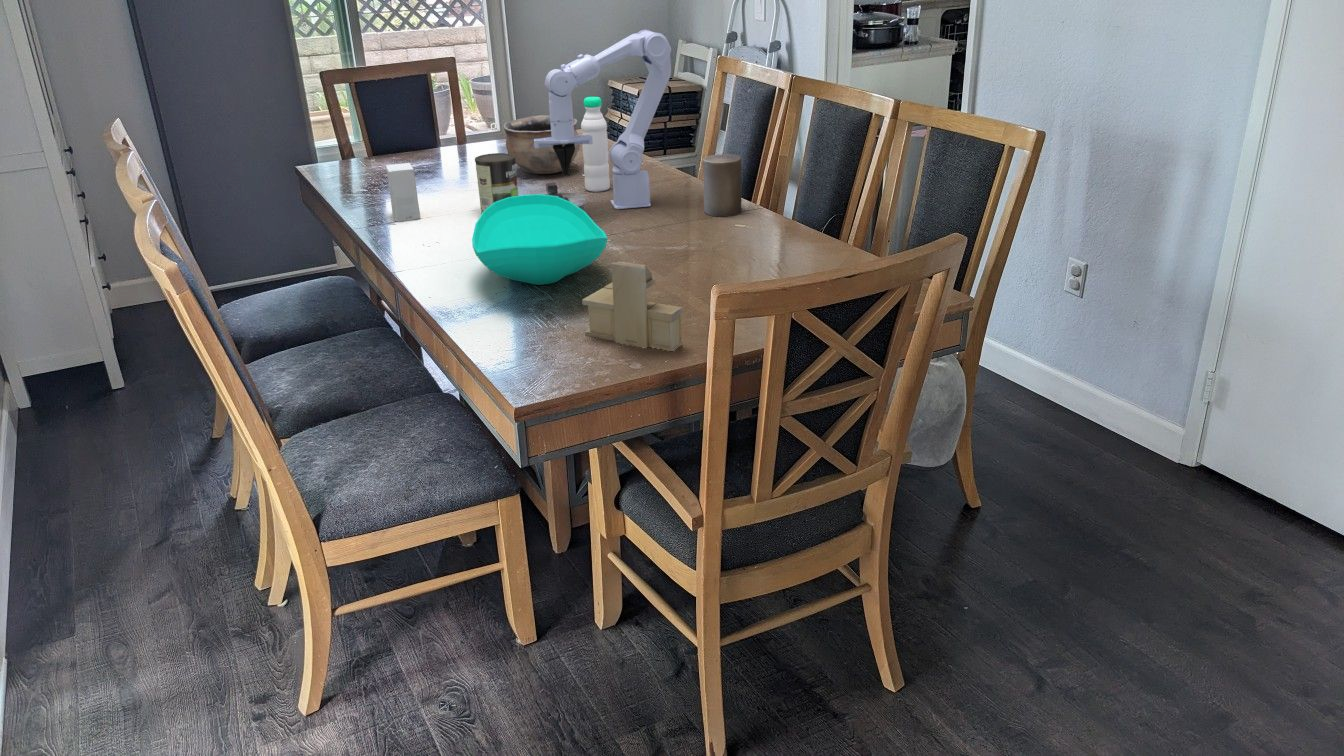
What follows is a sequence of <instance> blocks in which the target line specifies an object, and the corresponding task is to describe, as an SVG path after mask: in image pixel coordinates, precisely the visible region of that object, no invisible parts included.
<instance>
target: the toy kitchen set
mask: <svg viewBox="0 0 1344 756" xmlns="http://www.w3.org/2000/svg"><path fill="white" fill-rule="evenodd" d="M652 273H653V272H652V271H651V270H650V268H648V266H647V265H645V264H639V263H632V262H627V261H626V262H625V261H617V262H612V263H611V276H612V278H611V279H612V281H611V283H608V284H607V285H605V286H603V287H602V288H600V289H599V290H597V291H595V292H593V293H591V294H589V295H588V296H585V297H584V298H583V299H582V300H581V301H582V302H581V303H582V305H583V306H587V308H588V309H587V310H588V321H589V322H588V323H589V328H588V329H586V330H585V331H584V336H588V337H594V338H597V337H598V339H602V340H608V341H612V340H613V341H612V342H614V343H615V344H618V343H620V345H624V344H626V345H625V346H629V345H632V346H631V347H634V346H638V347H637V348H639V347H644V348H647V347H654V348H659V349H664V350H668V351H667V352H669V351H674V352H676V351H677V350H678V349H679V348H678V347H679V346H681V345H682V344H683V341H682V321H681V320H682V316H681V315H682V314H684V308H683V307H682V306H675V305H670V304H664V303H657V302H653V301H648V300H647V289H648V288H650V287H652V286H654V285H656V278H654V277H653V274H652ZM682 346H683V345H682ZM682 346H681V347H682ZM644 348H643V349H644ZM654 348H653V349H654ZM677 348H678V349H677ZM647 349H648V348H647ZM659 349H658V350H659ZM676 349H677V350H676ZM664 350H663V351H664ZM675 350H676V351H675Z"/></svg>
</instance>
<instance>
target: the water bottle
mask: <svg viewBox="0 0 1344 756" xmlns="http://www.w3.org/2000/svg"><path fill="white" fill-rule="evenodd" d="M583 107H584V108H585V113H584V114H583V119H582V121H581V124H580V128H581V135H591V136H592V141H593V144H581V145H582V148H581V149H582V157H583V173H584V188H585V190H586V191H588V192H591V193H592V192H594V193H597V192H605V191H607V190H609V189H610V188H611V180H610V166H609V143H608V141H609V140H608V132H607V129H608V128H607V127H608V123H607V121H606V119H605V118H604V114H603V113H602V111H601V108H602V99H601V97H599V96H587V97H584V99H583Z"/></svg>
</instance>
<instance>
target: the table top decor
mask: <svg viewBox="0 0 1344 756" xmlns="http://www.w3.org/2000/svg"><path fill="white" fill-rule="evenodd" d="M474 224H475V225H474V229H473V234H472V238H471V239H472V240H471V241H472V248H473V251H474V253H475V256H476V257H477V258H478V260H479V261H480V262H481V263H482V265H484V266H485V267H486V269H488V270H489V271H491V272H493V273H495V274H496V275H498V276H499V277H503V278H506V279H509V280H513V281H517V282H521V283H522V282H523V283H525V284H526V283H527V284H531V285H538V286H539V285H540V286H541V285H549V284H555V283H558V282H559V281H560V280H561V279H563V278H565V277H566V276H569V275H572V274H575V273H577V272H579V271H581V270H583V269H584V268H586V267H588V266H590V265H591V264H592V263H593V262H594V261H595V260H597V259H598V258H599V257H600V256H601V255H602V254H603V252H604V250H605V249H606V248H607V244H608V236H607V233H606V232H605V231H604V230H603V228H600V227H599V225H598V224H597V223H595V221H594V220H593V219H592V218H591V217H590V216H589V214H588V212H586V210H585V211H583V210H582V209H580V208H579V207H577V206H576V205H575V204H573V203H572V202H570V201H567V200H565V199H562V198H559V197H557V196H551V195H546V194H539V193H538V194H537V193H536V194H522V195H518V196H514V197H508V198H505V199H502V200H499V201H496V202H494V203H493V204H492V205H490V206H489V207H488V208H487V209H486V210H484V211H483V213H481V214H480V215H479V218H478V219H477V221H476V222H475V223H474Z"/></svg>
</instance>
